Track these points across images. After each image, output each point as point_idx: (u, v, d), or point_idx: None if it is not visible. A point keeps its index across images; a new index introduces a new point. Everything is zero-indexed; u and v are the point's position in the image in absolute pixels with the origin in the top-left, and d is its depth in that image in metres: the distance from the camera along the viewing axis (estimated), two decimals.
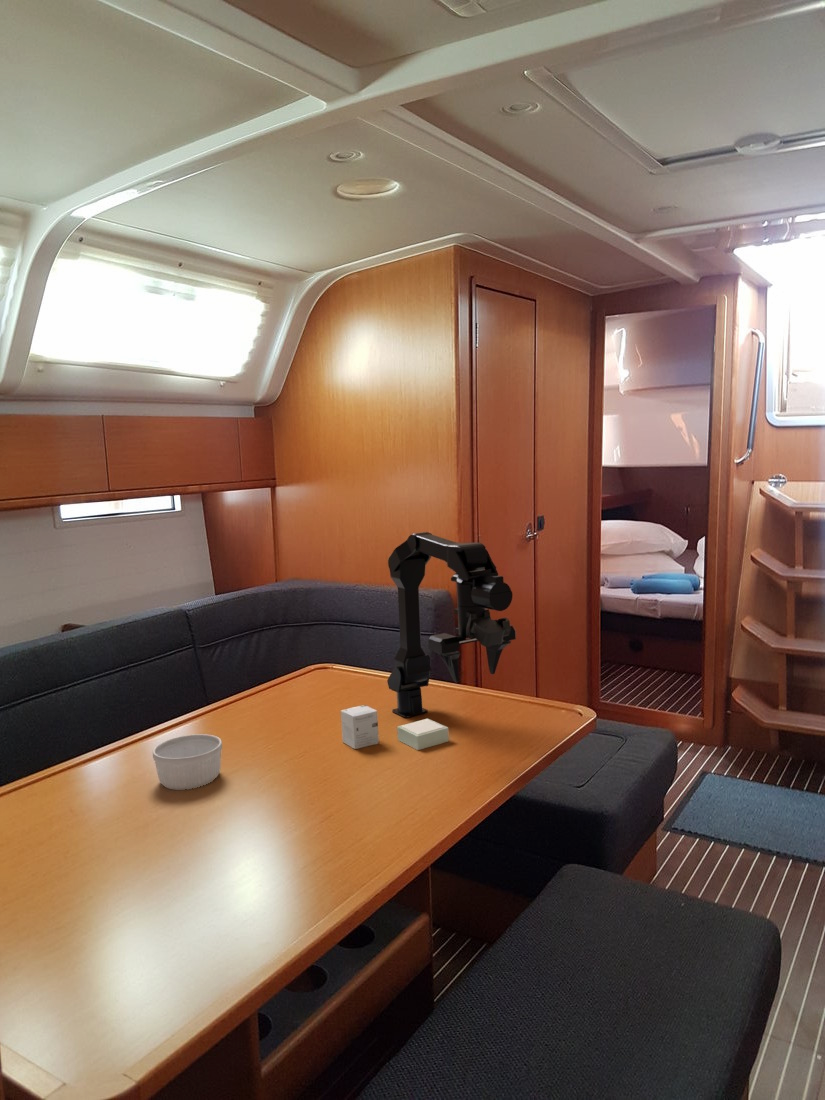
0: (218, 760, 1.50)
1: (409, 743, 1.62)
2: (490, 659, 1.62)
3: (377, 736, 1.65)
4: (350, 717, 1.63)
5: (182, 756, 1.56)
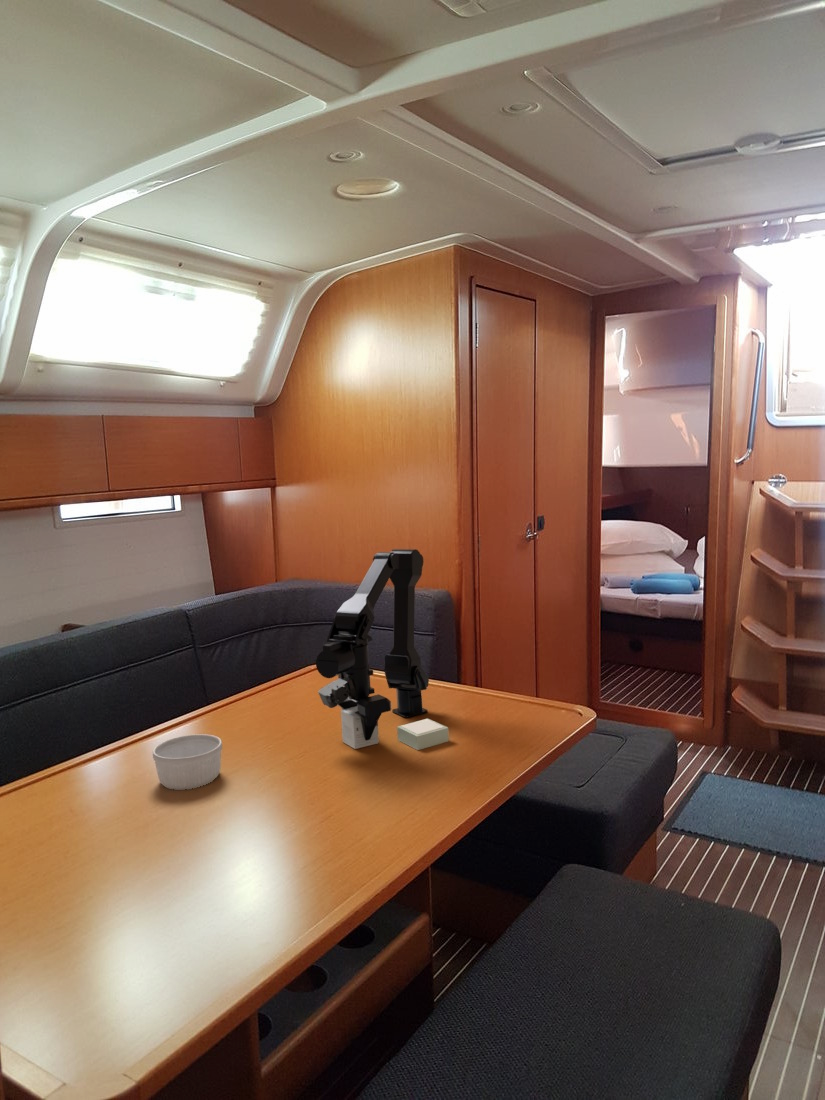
0: (218, 760, 1.50)
1: (409, 743, 1.62)
2: None
3: (377, 736, 1.65)
4: (350, 717, 1.63)
5: (182, 756, 1.56)
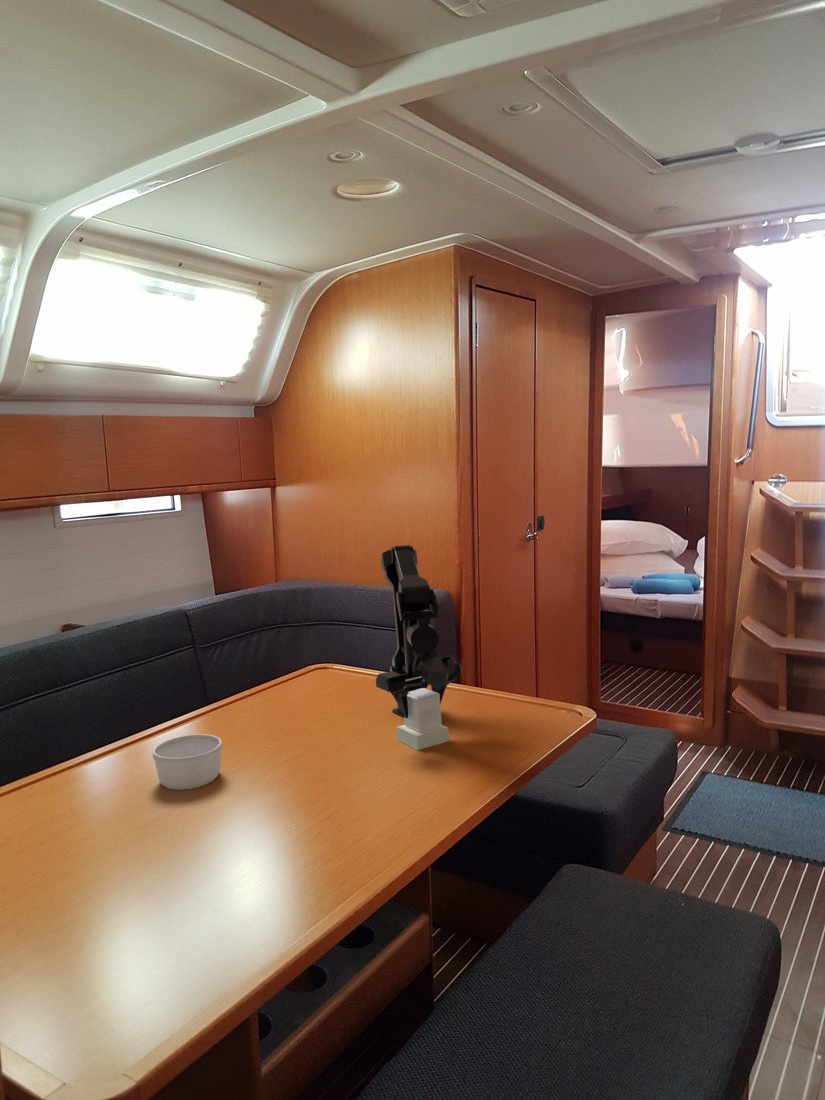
0: (218, 760, 1.50)
1: (409, 743, 1.62)
2: None
3: None
4: (434, 697, 1.63)
5: (182, 756, 1.56)
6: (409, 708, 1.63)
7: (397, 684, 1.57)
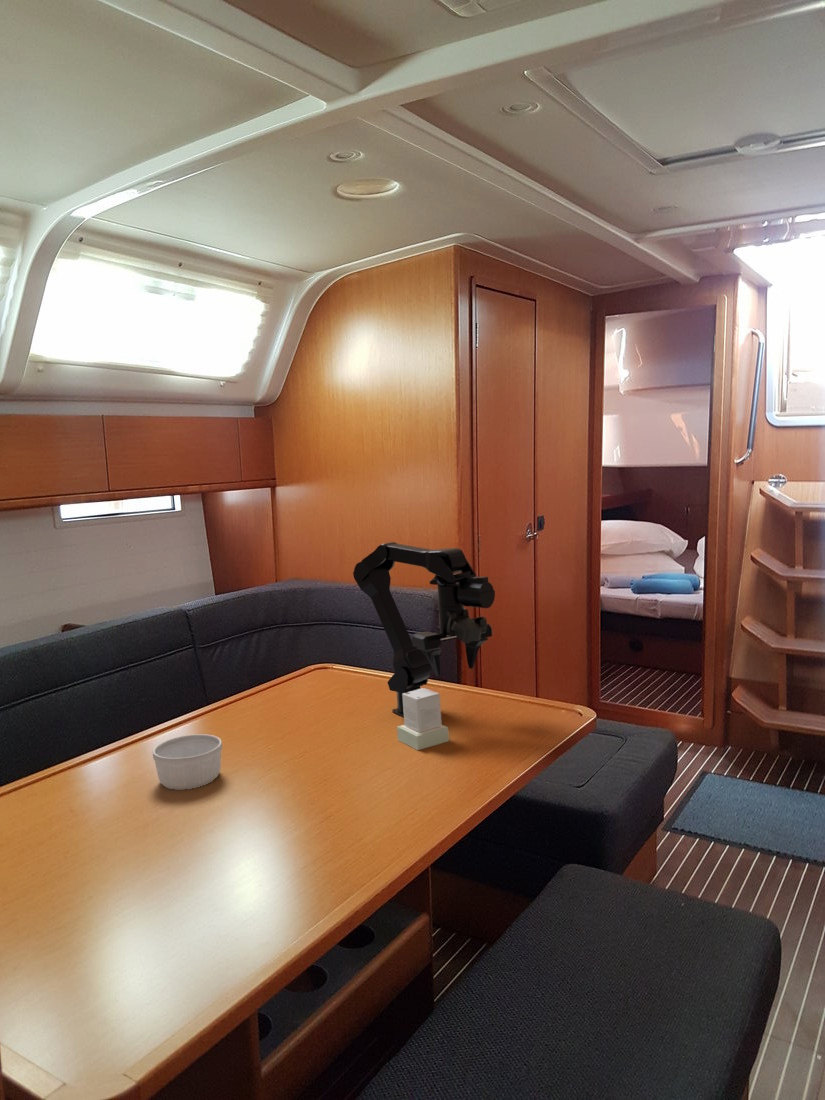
0: (218, 760, 1.50)
1: (409, 743, 1.62)
2: (469, 655, 1.76)
3: None
4: (434, 697, 1.63)
5: (182, 756, 1.56)
6: (409, 708, 1.63)
7: (433, 642, 1.66)
